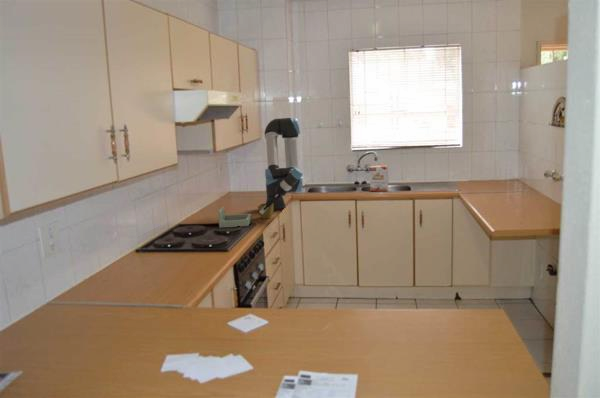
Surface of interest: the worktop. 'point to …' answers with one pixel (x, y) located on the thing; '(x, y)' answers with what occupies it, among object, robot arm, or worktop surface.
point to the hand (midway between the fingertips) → (262, 211)
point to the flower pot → (268, 212)
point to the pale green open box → (233, 219)
